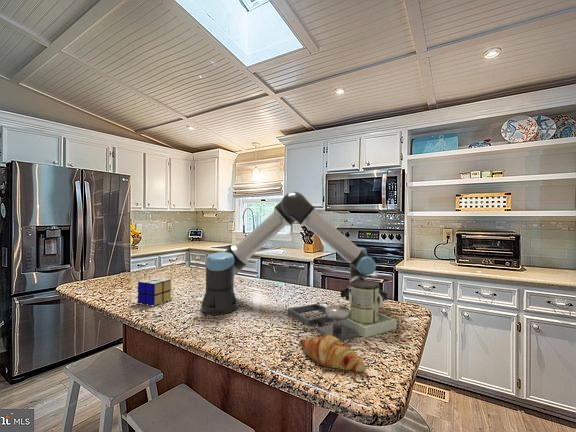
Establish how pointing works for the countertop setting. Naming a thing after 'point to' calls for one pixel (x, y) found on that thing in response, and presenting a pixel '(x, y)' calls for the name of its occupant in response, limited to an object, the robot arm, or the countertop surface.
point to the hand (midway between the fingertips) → (365, 301)
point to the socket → (296, 310)
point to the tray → (370, 330)
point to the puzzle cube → (154, 291)
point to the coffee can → (365, 302)
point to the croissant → (332, 353)
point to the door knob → (337, 323)
